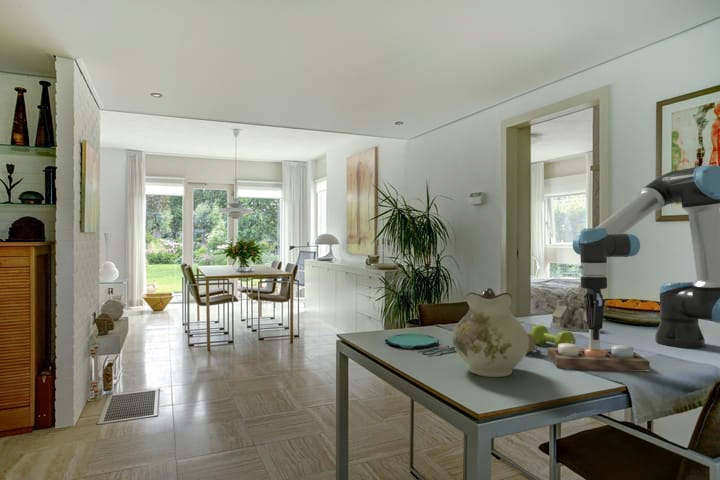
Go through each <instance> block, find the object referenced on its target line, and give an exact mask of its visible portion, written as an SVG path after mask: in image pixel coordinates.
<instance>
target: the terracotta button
mask: <svg viewBox="0 0 720 480" xmlns="http://www.w3.org/2000/svg"><path fill="white" fill-rule="evenodd" d="M584 349H585V356H589V357H606V351H605V350H604V349H605V348H600V350H591V349H589V347H586V348H584Z"/></svg>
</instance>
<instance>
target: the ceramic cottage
mask: <svg viewBox="0 0 720 480" xmlns="http://www.w3.org/2000/svg"><path fill="white" fill-rule="evenodd" d="M555 307H556V308H555V310H554V312H553V313H552V314H551V316H552V319H551V323H550V324H549V325H550V326H549V328H550V329H553V330H557V331H568V332H576V333H577V332H579V333H589V327H588V325H587V319H586V308H585V309H584V308H582V307H580V305H579V303H578V301H577V300H576V299H574V296H573V295H572V294H569V296H568V298H567V300H566V302H565V305H564V304H563V301H562V299H557V302H556V305H555Z"/></svg>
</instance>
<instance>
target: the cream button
mask: <svg viewBox="0 0 720 480" xmlns="http://www.w3.org/2000/svg"><path fill="white" fill-rule="evenodd" d="M558 354H559V355H560V356H579V345H577V344H576V343H575V344H569V343H561V344H558Z"/></svg>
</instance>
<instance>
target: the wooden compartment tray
mask: <svg viewBox="0 0 720 480" xmlns="http://www.w3.org/2000/svg"><path fill="white" fill-rule="evenodd" d="M546 349H547V353H546V354H547V357H548V359H549V360H550V361H551V362H552V363H553V365H554V366H555V367H556V368H557V369H579V370H602V371H603V370H604V371H625V370H651V369H650V362H651V361H650V360H648V359H646V358H644V357H643V356H641V355H640V354H638V353H636V352H635V351H633V358H618V357H613V356H612V353H611V348H610V349H609V348H608V349H606V348H603V349H604V350H605V351H606V357H589V356H585V348H579V356H560V355H559V354H558V348H557V347H547V348H546Z"/></svg>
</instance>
